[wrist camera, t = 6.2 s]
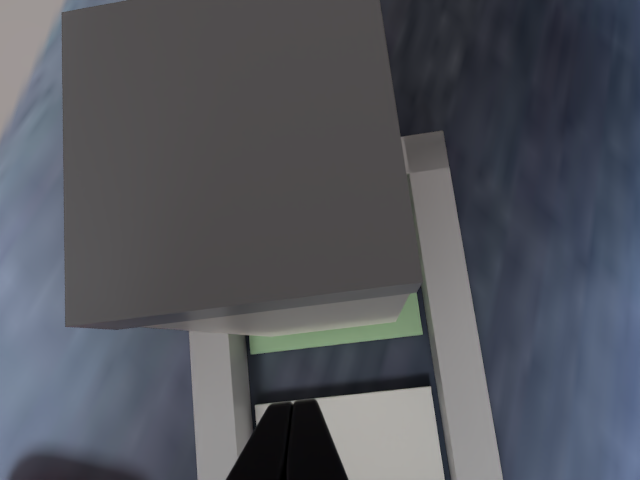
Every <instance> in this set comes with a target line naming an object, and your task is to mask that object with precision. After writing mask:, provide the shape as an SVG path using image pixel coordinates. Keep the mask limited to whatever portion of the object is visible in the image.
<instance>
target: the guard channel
mask: <svg viewBox="0 0 640 480" xmlns="http://www.w3.org/2000/svg"><path fill="white" fill-rule="evenodd" d="M401 142H402V148H403V155H404V161H405V168H406V174H407V181H408V187H409V194H410V200H411V207H412V213H413V220H414V226H415V233H416V239H417V246H418V252H419V259H420V265H421V272H422V278H423V283H422V284H421V288H422V295H423V302H424V308H425V315H426V321H427V328H428V334H429V341H430V347H431V354H432V360H433V367H434V374H435V380H436V387H437V393H438V400H439V406H440V413H441V419H442V426H443V432H444V439H445V446H446V452H447V459H448V465H449V472H450V478H451V480H503V477H502V471H501V465H500V459H499V453H498V447H497V442H496V436H495V430H494V424H493V418H492V413H491V407H490V401H489V395H488V389H487V384H486V378H485V372H484V366H483V360H482V354H481V349H480V343H479V337H478V331H477V325H476V320H475V314H474V308H473V302H472V296H471V290H470V285H469V279H468V273H467V267H466V261H465V256H464V250H463V244H462V238H461V232H460V227H459V221H458V215H457V209H456V203H455V197H454V192H453V186H452V180H451V174H450V168H449V163H448V157H447V151H446V145H445V139H444V134H443V131H437V132H430V133H423V134H417V135H410V136H404V137H401ZM416 335H423V332H422V325H421V319H420V312H419V305H418V299H417V293H410V294H409V296H408V298H407V300H406V302H405V304H404V306H403V308H402V310H401V312H400V314H399V316H398V318H397V320H396V322H392V323H384V324H375V325H367V326H359V327H350V328H342V329H333V330H325V331H316V332H308V333H300V334H291V335H283V336H274V337H266V336H253V335H249V342H250V354H260V353H269V352H278V351H286V350H295V349H304V348H312V347H321V346H329V345H338V344H347V343H355V342H364V341H372V340H381V339H390V338H398V337H407V336H416ZM189 341H190V358H191V374H192V391H193V408H194V424H195V441H196V458H197V474H198V480H226V478H227V476H228V475H229V473H230V471H231V469H232V468H233V466H234V464H235V462H236V461H237V459H238V457H239V455H240V454H241V452H242V450H243V449H244V447H245V445H246V443H247V442H248V440H249V438H250V436H251V435H252V433H253V423H252V411H251V399H250V387H249V374H248V362H247V350H246V338H245V335H239V334H226V333H212V332H199V331H189ZM311 399H316V400H317V402H318V404H319V406H320V409H321V411H322V414H323V416H324V419H325V421H326V424H327V426H328V429H329V431H330V434H331V436H332V439H333V442H334V444H335V447H336V449H337V452H338V454H339V457H340V459H341V462H342V464H343V467H344V469H345V472H346V474H347V477H348V479H349V480H445V478H444V471H443V465H442V458H441V452H440V445H439V438H438V432H437V425H436V418H435V412H434V405H433V398H432V392H431V386H424V387H414V388H405V389H396V390H386V391H377V392H367V393H358V394H349V395H339V396H330V397H321V398H311ZM302 400H305V399H302ZM295 401H297V400H293V401H289V402H292V403H293V404H294V402H295ZM283 402H288V401H283ZM274 403H279V402H274ZM270 404H272V403H265V404H257V405H255V414H256V426H257V424H258V423H259V421H260V419H261V417H262V416H263V414H264V412H265V410H266V409H267V407H268V406H269V405H270Z"/></svg>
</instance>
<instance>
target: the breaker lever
mask: <svg viewBox="0 0 640 480" xmlns="http://www.w3.org/2000/svg"><path fill="white" fill-rule="evenodd" d="M62 84H63V167H64V250H65V327H79V328H96V329H113V330H118V329H127V328H135V327H145V328H159V329H172V330H186V331H199V332H212V333H226V334H239V335H253V336H266V337H274V336H283V335H291V334H300V333H308V332H316V331H325V330H333V329H342V328H350V327H359V326H367V325H375V324H384V323H392V322H396V320H397V318H398V316H399V314H400V312H401V310H402V308H403V306H404V304H405V302H406V300H407V298H408V296H409V294H410V293H417V291H418V289H419V288H420V286H421V284H422V283H423V278H422V272H421V265H420V259H419V252H418V246H417V239H416V233H415V226H414V220H413V213H412V207H411V200H410V194H409V187H408V181H407V174H406V168H405V161H404V155H403V148H402V142H401V135H400V129H399V122H398V116H397V109H396V103H395V96H394V90H393V83H392V77H391V70H390V64H389V57H388V51H387V44H386V38H385V31H384V25H383V18H382V12H381V5H380V0H127V1H121V2H116V3H110V4H105V5H100V6H94V7H89V8H83V9H78V10H72V11H67V12H62Z"/></svg>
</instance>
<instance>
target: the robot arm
mask: <svg viewBox="0 0 640 480" xmlns="http://www.w3.org/2000/svg"><path fill="white" fill-rule="evenodd" d="M226 480H349V479H348V477H347V474H346V472H345V469H344V467H343V464H342V462H341V459H340V457H339V454H338V452H337V449H336V447H335V444H334V442H333V439H332V436H331V434H330V431H329V429H328V426H327V424H326V421H325V419H324V416H323V414H322V411H321V409H320V406H319V404H318V402H317V400H316V399H305V400H297V401H295V402H294V404H293V403H292V402H289V401H288V402H279V403H272V404H270V405H269V406H268V407H267V409H266V410H265V412H264V414H263V416H262V417H261V419H260V421H259V423H258V424H257V426H256V428H255V430H254V431H253V433H252V435H251V436H250V438H249V440H248V442H247V443H246V445H245V447H244V449H243V450H242V452H241V454H240V455H239V457H238V459H237V461H236V462H235V464H234V466H233V468H232V469H231V471H230V473H229V475H228V476H227V478H226Z"/></svg>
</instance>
